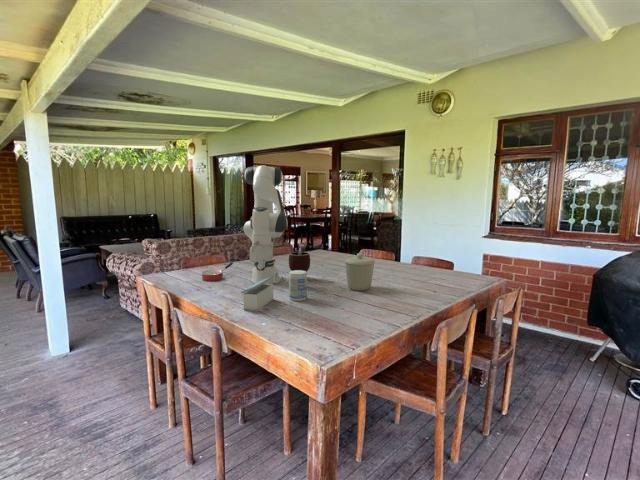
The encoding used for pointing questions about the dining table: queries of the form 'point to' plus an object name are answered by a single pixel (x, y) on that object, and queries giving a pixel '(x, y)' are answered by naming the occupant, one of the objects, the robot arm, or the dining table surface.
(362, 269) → the canister
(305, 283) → the supplement tub
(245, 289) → the cover
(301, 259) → the brown utensil pot
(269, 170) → the robot arm
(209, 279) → the frying pan
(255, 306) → the beige open box
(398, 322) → the dining table surface
